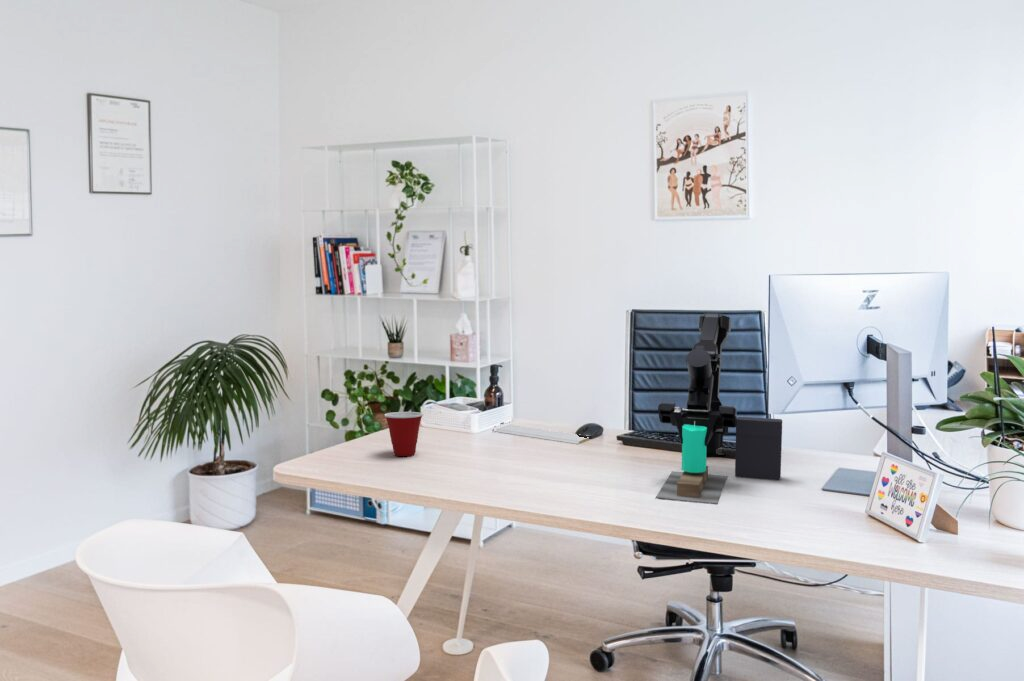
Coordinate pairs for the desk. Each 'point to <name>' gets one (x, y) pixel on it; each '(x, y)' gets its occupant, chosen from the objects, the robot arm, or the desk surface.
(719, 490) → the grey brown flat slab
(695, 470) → the candle
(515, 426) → the baseboard
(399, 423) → the plastic cup
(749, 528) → the desk surface
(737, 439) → the upright charcoal slab
